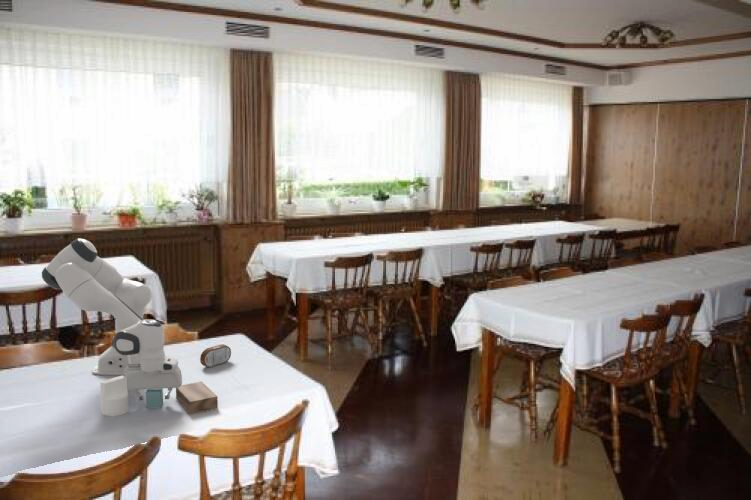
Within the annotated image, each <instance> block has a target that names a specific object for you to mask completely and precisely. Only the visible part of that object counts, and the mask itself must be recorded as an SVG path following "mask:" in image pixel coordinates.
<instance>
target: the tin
mask: <svg viewBox="0 0 751 500" xmlns="http://www.w3.org/2000/svg"><path fill="white" fill-rule="evenodd" d="M231 357H232V349H231V347H230V346H229V345H227V344H218V345H215V346H210V347H208V348H207V347H206V348H205V349H204V350H203V351H202V352H201V354H200V357H199V358H200V359H199V360H200V364H201V365H202V366H203V367H206V368H213V367H216V366H219V365H223V364H226V363H227V362H228V361H229V360H230V359H231Z"/></svg>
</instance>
